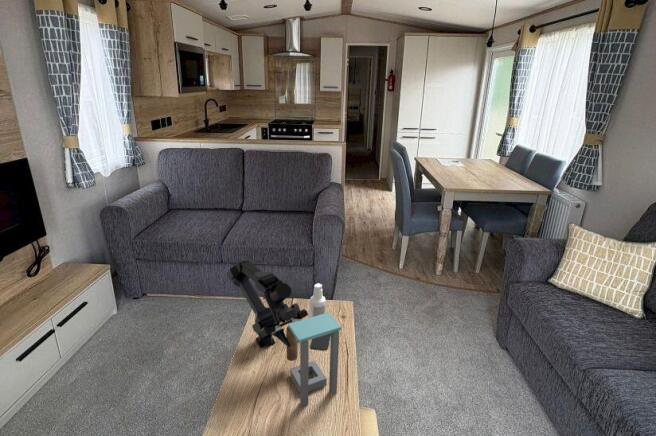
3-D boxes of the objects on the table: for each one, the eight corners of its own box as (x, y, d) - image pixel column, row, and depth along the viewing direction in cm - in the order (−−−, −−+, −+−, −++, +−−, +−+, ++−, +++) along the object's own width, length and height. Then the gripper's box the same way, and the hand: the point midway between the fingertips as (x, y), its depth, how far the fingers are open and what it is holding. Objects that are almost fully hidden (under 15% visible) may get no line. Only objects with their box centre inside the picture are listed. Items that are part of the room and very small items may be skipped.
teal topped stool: (289, 387, 135) (288, 323, 125) (326, 374, 141) (328, 312, 132) (300, 407, 127) (299, 340, 117) (339, 392, 133) (342, 327, 124)
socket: (290, 375, 140) (289, 368, 139) (314, 366, 145) (314, 360, 144) (300, 394, 132) (300, 387, 131) (326, 384, 136) (326, 378, 135)
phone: (309, 347, 154) (315, 325, 168) (309, 349, 154) (315, 326, 168) (327, 350, 153) (332, 326, 167) (327, 351, 153) (332, 328, 167)
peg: (284, 358, 142) (284, 329, 137) (290, 351, 145) (290, 323, 140) (293, 362, 140) (293, 333, 135) (299, 355, 143) (299, 327, 138)
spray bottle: (319, 326, 168) (320, 291, 161) (307, 321, 171) (307, 286, 165) (327, 318, 173) (328, 284, 167) (315, 313, 177) (315, 279, 170)
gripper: (263, 308, 131) (281, 351, 127) (305, 290, 143) (324, 329, 139) (252, 317, 139) (269, 357, 136) (293, 299, 151) (310, 336, 147)
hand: (294, 344), depth 139 cm, fingers closed on peg, 4 cm apart
